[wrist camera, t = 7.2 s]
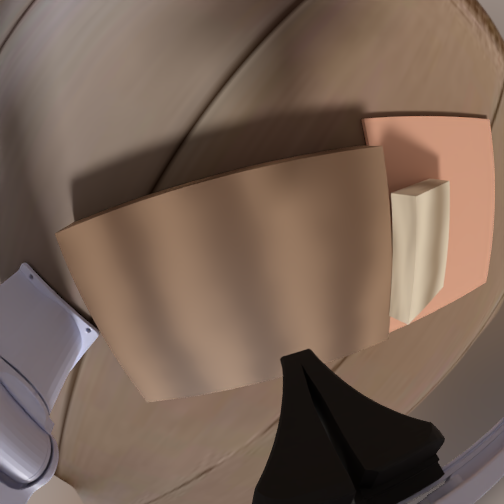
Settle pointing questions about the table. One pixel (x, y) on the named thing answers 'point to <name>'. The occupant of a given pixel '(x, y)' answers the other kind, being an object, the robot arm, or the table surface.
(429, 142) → the terracotta mat
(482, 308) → the table surface
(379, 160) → the walnut board
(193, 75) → the table surface
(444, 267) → the birch tile
